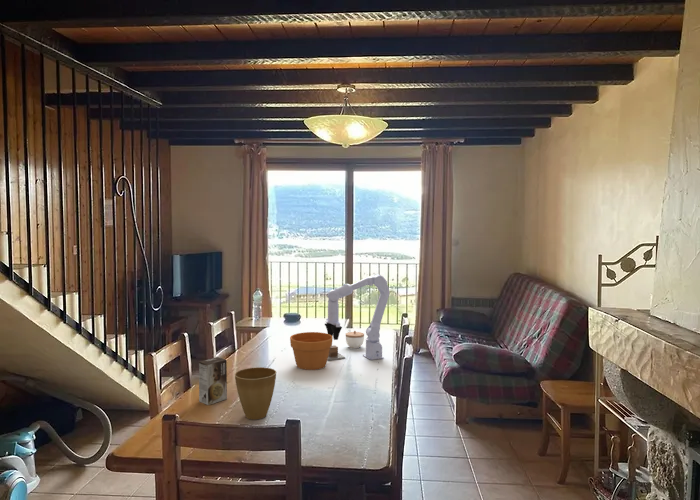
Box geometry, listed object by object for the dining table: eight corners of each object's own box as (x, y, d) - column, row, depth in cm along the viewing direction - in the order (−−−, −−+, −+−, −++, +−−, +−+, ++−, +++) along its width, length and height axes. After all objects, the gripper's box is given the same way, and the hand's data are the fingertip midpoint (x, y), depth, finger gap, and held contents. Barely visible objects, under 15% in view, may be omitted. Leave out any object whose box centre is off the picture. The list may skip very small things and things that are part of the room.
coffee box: (217, 395, 199) (217, 356, 199) (227, 399, 195) (227, 359, 195) (198, 401, 192) (198, 361, 192) (207, 405, 188) (207, 364, 187)
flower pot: (326, 373, 231) (326, 342, 230) (284, 370, 235) (284, 340, 234) (336, 361, 251) (336, 333, 251) (297, 359, 256) (297, 331, 255)
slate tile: (345, 358, 257) (345, 357, 257) (327, 360, 253) (327, 359, 253) (338, 354, 266) (338, 352, 266) (320, 355, 262) (320, 354, 262)
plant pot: (278, 408, 186) (278, 366, 185) (273, 423, 171) (273, 378, 171) (239, 408, 186) (239, 366, 185) (230, 424, 171) (230, 378, 170)
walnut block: (337, 356, 258) (337, 347, 258) (330, 357, 257) (330, 347, 257) (335, 354, 262) (335, 345, 262) (328, 355, 261) (328, 345, 260)
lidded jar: (364, 349, 277) (364, 333, 276) (345, 349, 277) (345, 332, 277) (363, 344, 288) (364, 329, 287) (345, 344, 288) (345, 328, 287)
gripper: (321, 310, 264) (321, 335, 264) (331, 315, 250) (331, 341, 251) (333, 310, 266) (333, 334, 267) (343, 314, 253) (343, 340, 254)
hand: (333, 338), depth 259 cm, fingers open, 7 cm apart
